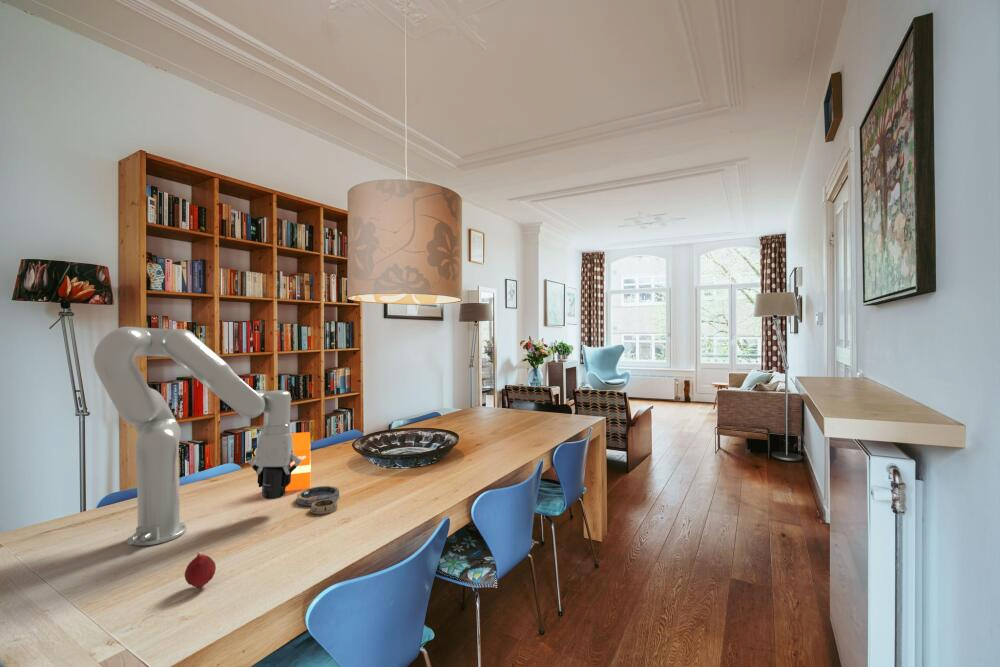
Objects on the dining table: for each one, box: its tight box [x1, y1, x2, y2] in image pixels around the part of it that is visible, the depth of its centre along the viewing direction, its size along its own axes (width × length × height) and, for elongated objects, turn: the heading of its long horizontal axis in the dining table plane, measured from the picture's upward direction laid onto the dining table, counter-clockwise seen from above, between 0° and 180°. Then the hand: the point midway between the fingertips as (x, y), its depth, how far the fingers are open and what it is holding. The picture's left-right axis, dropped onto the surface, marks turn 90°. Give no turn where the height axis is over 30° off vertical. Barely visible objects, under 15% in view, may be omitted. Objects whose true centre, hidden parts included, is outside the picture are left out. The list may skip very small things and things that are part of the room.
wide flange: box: [296, 485, 340, 508], centre depth 155 cm, size 14×14×2 cm
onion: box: [184, 551, 217, 589], centre depth 102 cm, size 6×6×8 cm
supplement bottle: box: [261, 467, 287, 500], centre depth 143 cm, size 7×7×12 cm
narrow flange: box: [310, 499, 338, 516], centre depth 146 cm, size 8×8×2 cm
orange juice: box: [285, 431, 312, 492], centre depth 168 cm, size 8×9×20 cm
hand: (274, 485), depth 143 cm, fingers closed on supplement bottle, 6 cm apart
